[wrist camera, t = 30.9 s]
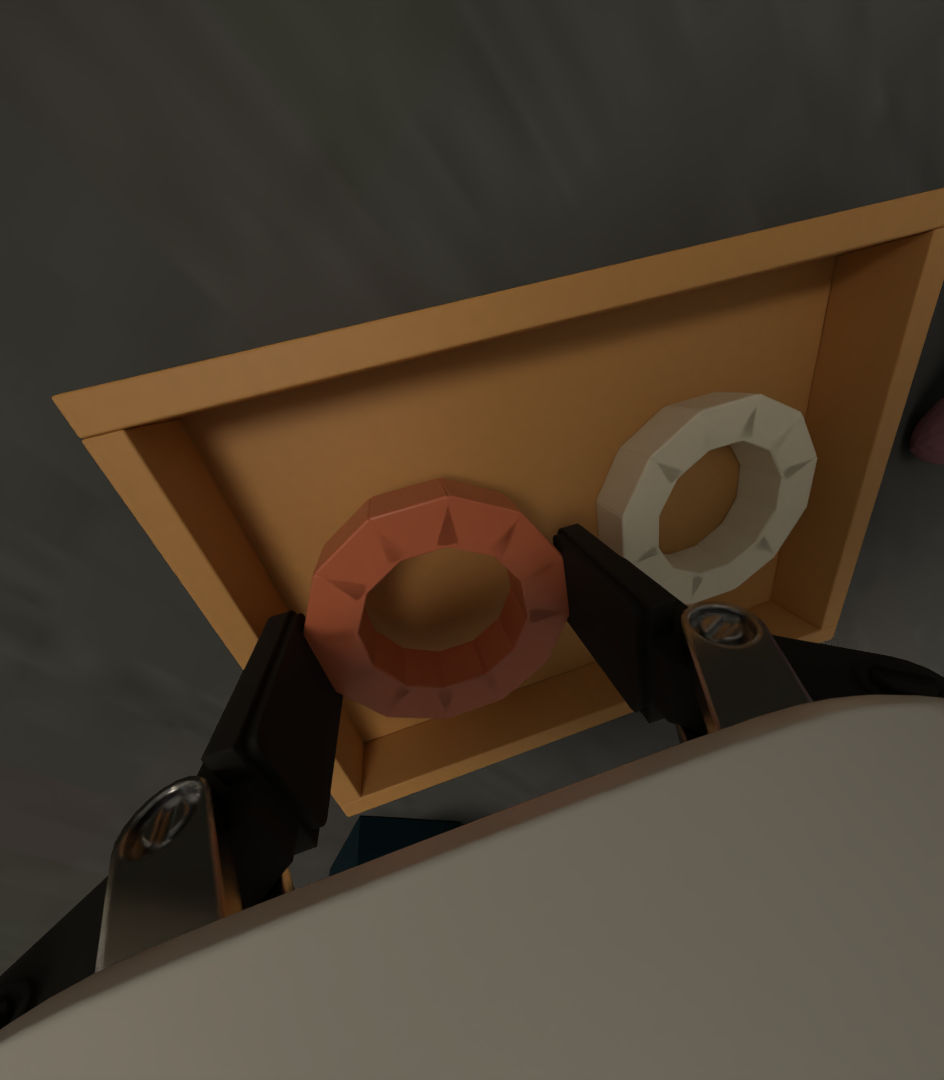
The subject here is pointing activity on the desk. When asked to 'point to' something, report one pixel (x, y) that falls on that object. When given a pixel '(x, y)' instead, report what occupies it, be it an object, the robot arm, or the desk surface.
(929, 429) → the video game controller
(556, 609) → the terracotta ring
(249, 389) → the tray
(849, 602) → the desk surface
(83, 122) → the desk surface
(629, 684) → the robot arm
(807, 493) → the cream ring
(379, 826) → the watch
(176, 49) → the desk surface
